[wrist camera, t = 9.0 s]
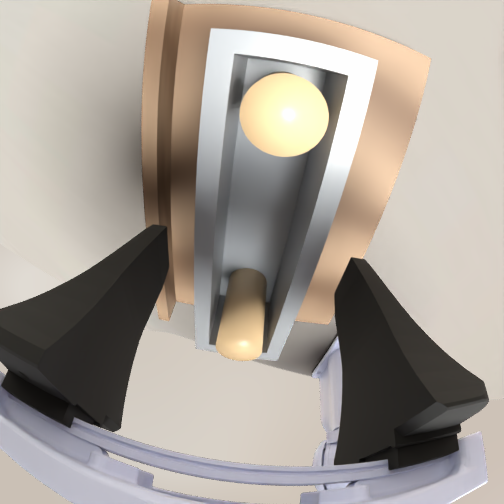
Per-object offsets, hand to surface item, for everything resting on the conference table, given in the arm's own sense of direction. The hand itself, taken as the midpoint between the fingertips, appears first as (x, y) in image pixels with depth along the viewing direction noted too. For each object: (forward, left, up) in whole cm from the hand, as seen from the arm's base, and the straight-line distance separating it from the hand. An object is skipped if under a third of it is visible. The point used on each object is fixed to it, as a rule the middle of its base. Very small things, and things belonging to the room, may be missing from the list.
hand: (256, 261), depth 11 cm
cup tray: (0, 0, -5) cm, 5 cm away
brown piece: (0, 0, -7) cm, 7 cm away
